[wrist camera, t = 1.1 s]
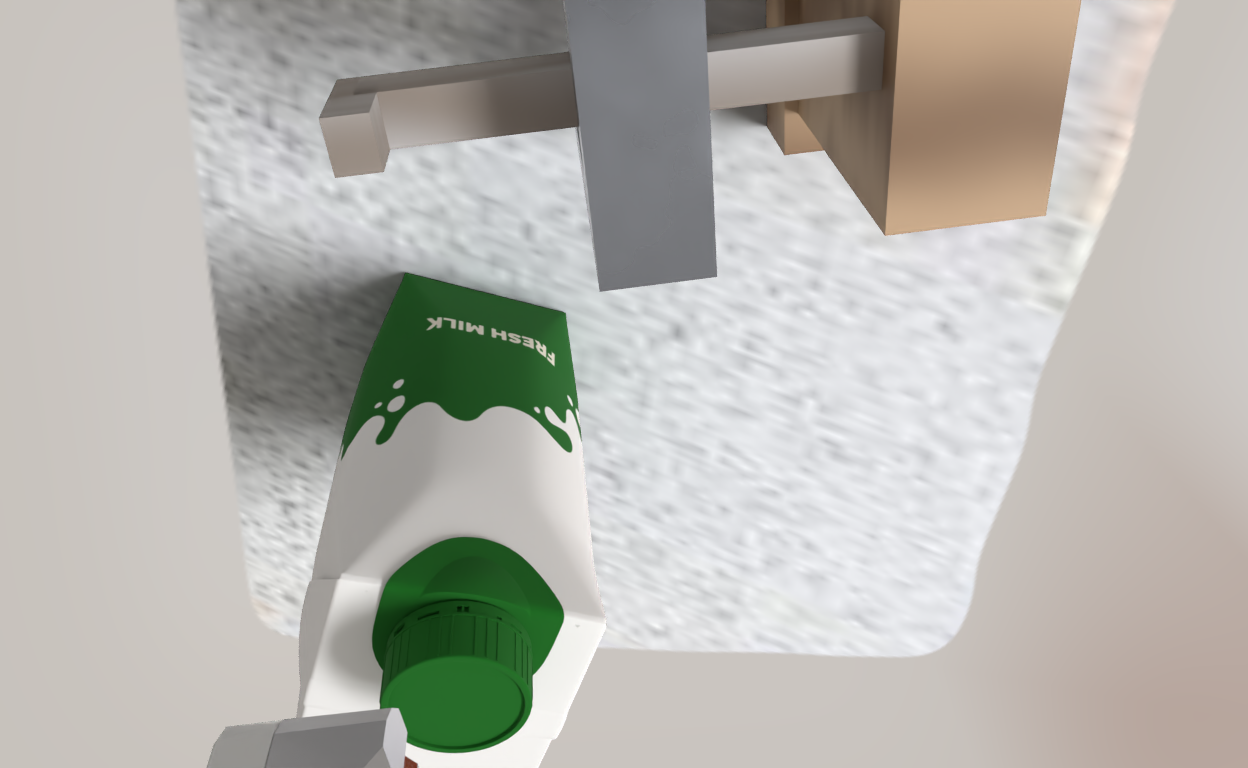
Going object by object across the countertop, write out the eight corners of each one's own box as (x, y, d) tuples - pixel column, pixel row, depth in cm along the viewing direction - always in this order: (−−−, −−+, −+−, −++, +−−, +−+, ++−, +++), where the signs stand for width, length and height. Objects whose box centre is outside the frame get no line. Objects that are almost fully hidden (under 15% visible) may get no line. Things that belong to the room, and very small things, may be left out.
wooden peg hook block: (343, -185, 32) (251, -129, 20) (946, -254, 32) (1177, -235, 21) (421, 169, 38) (384, 356, 27) (917, 108, 39) (1080, 267, 28)
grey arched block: (545, -120, 30) (559, -45, 20) (644, -132, 30) (702, -62, 21) (576, 137, 34) (599, 291, 25) (662, 126, 34) (716, 276, 25)
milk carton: (592, 299, 42) (643, 673, 26) (533, 459, 47) (544, 863, 30) (387, 246, 40) (300, 619, 24) (346, 420, 45) (249, 834, 28)
